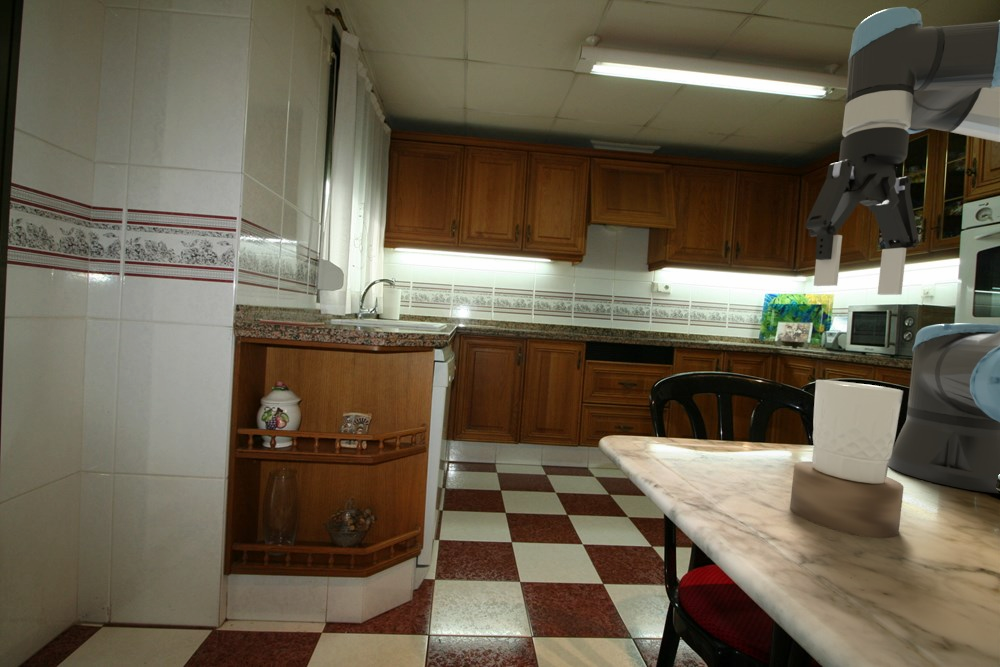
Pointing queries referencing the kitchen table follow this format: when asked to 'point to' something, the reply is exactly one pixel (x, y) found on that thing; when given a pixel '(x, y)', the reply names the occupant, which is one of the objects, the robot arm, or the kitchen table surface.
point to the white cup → (854, 429)
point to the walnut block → (846, 503)
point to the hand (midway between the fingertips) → (858, 290)
